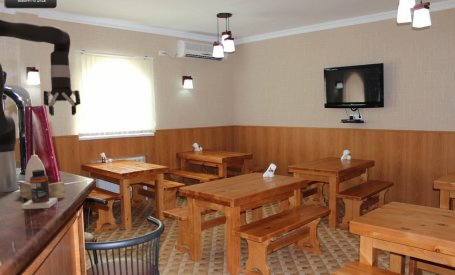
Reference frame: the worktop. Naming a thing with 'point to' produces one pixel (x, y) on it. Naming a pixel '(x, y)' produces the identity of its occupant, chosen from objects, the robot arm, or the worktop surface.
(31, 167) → the sauce bottle
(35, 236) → the worktop surface
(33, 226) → the worktop surface
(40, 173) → the supplement bottle
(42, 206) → the tile
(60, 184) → the wooden frame
